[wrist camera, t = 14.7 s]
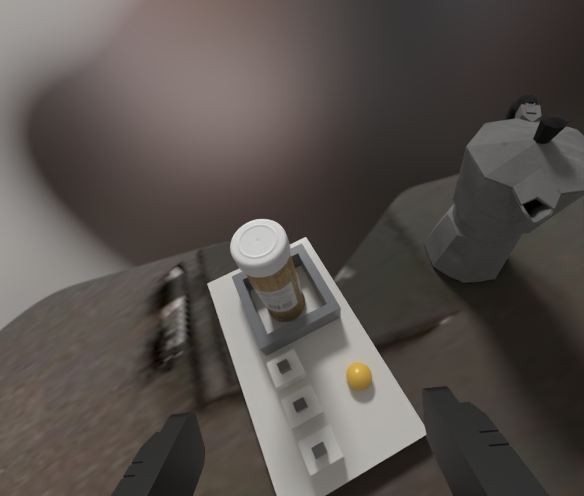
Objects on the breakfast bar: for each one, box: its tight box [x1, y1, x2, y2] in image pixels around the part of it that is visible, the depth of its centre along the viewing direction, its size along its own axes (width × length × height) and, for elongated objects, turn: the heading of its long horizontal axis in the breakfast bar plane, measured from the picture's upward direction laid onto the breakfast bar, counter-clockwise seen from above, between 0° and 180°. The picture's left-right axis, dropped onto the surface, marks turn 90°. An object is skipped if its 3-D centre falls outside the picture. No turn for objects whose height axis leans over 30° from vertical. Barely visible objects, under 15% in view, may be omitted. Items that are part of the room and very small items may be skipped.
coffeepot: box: [424, 93, 584, 283], centre depth 28 cm, size 15×9×18 cm, turn 161°
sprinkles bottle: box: [230, 219, 305, 322], centre depth 27 cm, size 5×5×14 cm
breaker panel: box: [208, 237, 426, 496], centre depth 29 cm, size 14×24×5 cm, turn 25°
